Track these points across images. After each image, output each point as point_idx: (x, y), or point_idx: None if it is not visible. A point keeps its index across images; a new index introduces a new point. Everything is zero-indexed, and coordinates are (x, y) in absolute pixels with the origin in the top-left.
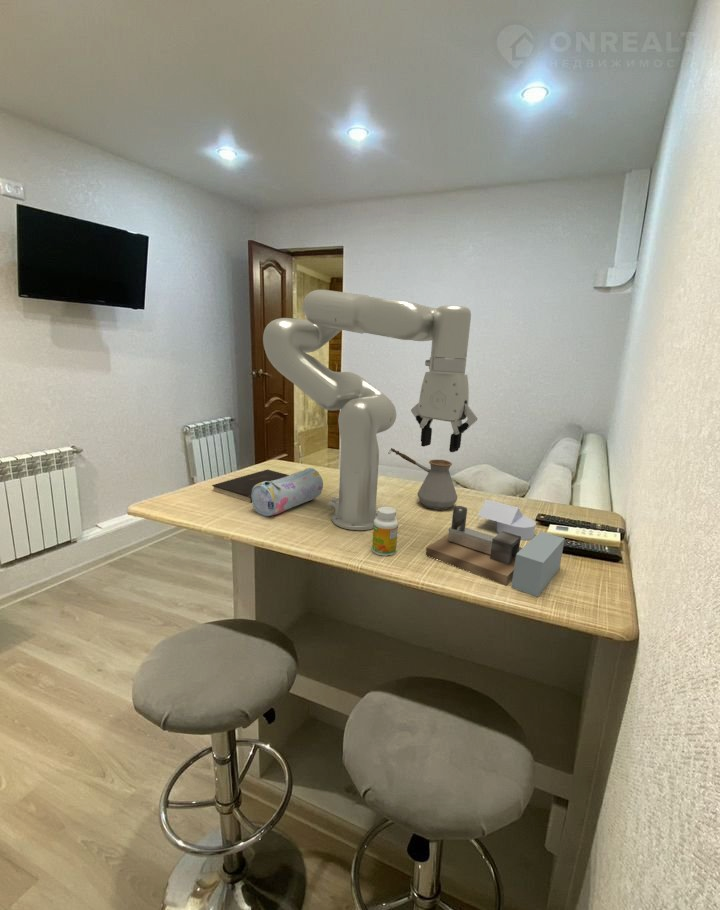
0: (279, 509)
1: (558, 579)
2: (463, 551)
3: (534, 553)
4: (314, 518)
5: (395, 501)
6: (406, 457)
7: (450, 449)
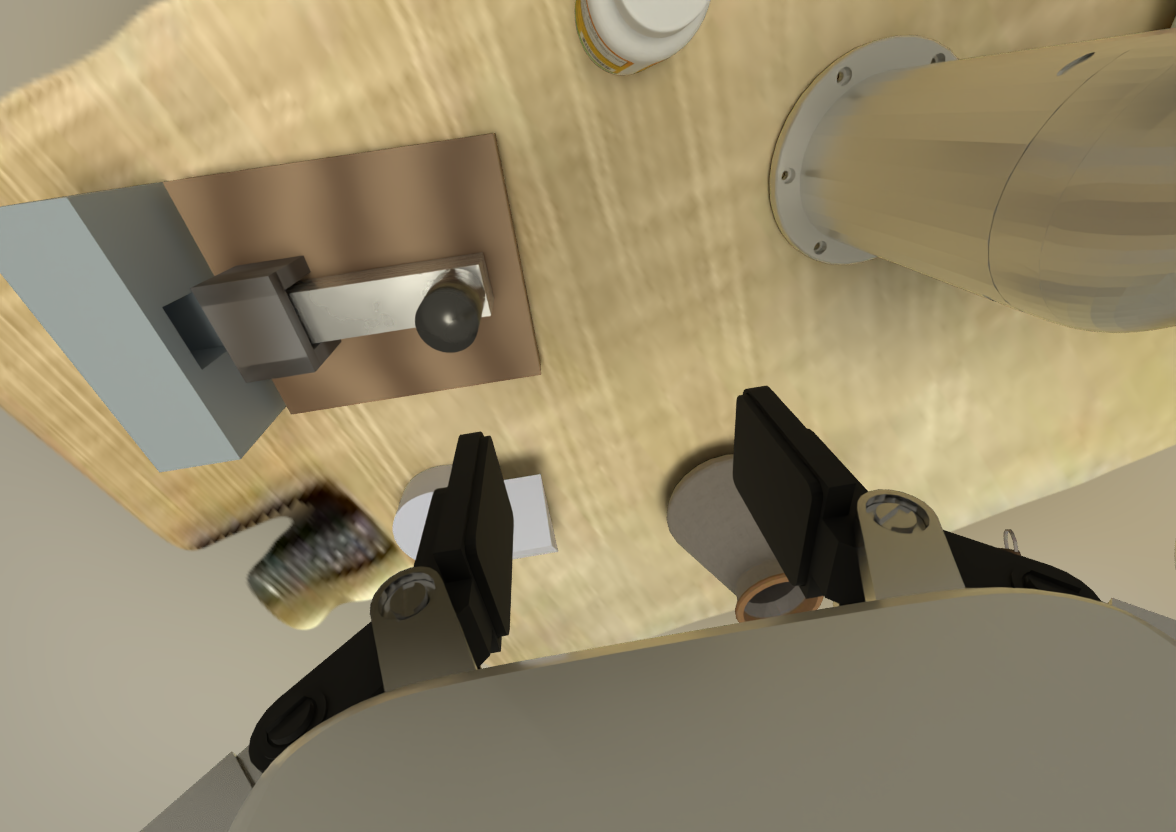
0: None
1: None
2: (393, 228)
3: (56, 270)
4: (1031, 18)
5: (833, 416)
6: None
7: (472, 440)
